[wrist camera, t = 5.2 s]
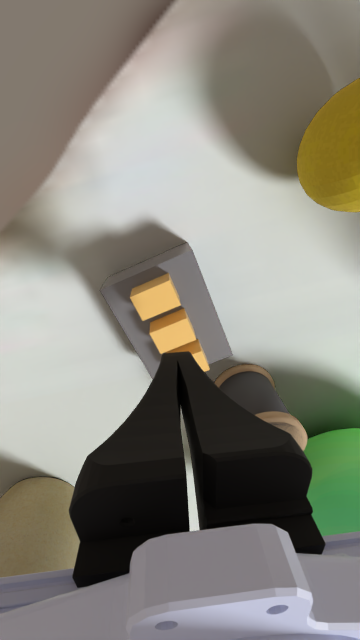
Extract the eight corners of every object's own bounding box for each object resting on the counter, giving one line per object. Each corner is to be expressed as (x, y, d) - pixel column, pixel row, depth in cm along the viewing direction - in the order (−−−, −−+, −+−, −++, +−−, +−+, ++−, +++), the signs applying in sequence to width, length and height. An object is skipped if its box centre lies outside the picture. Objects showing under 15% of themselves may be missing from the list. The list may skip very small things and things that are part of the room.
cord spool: (284, 375, 23) (323, 430, 18) (251, 418, 25) (277, 479, 20) (231, 355, 22) (256, 409, 16) (200, 403, 24) (214, 464, 18)
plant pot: (66, 547, 32) (-6, 828, 18) (-57, 507, 27) (-300, 860, 13) (145, 488, 28) (133, 786, 14) (18, 427, 23) (-207, 806, 9)
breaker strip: (108, 276, 18) (94, 299, 14) (186, 241, 17) (195, 254, 13) (156, 361, 22) (155, 399, 17) (223, 334, 21) (238, 367, 17)
